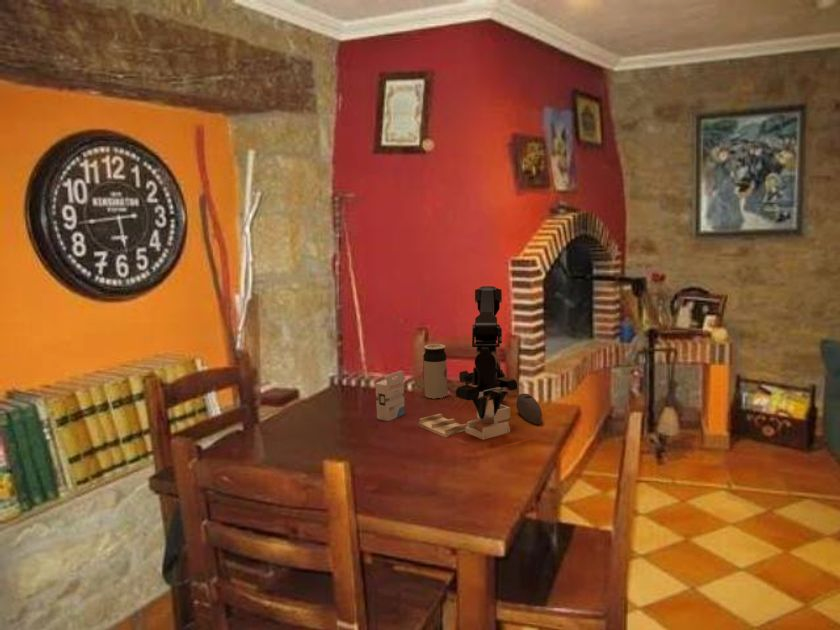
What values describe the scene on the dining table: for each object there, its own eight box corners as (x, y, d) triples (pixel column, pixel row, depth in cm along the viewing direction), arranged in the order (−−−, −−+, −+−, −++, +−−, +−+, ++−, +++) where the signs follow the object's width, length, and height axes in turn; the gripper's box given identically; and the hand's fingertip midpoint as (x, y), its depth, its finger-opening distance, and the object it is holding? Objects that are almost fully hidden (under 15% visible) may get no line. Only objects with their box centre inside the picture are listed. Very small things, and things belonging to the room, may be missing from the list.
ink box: (393, 412, 212) (391, 367, 210) (405, 414, 209) (403, 369, 207) (376, 419, 205) (374, 373, 203) (388, 421, 202) (386, 375, 200)
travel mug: (420, 397, 228) (419, 347, 225) (431, 392, 235) (429, 343, 232) (441, 400, 224) (440, 349, 221) (451, 394, 231) (449, 344, 228)
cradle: (491, 426, 194) (491, 415, 194) (510, 433, 188) (509, 422, 187) (465, 433, 189) (465, 422, 188) (483, 441, 182) (483, 429, 182)
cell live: (488, 419, 190) (487, 394, 189) (497, 422, 187) (497, 397, 186) (477, 422, 188) (477, 396, 187) (486, 425, 185) (486, 399, 184)
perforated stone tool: (547, 427, 192) (547, 405, 191) (530, 429, 191) (530, 406, 190) (531, 413, 207) (531, 391, 206) (515, 414, 206) (515, 392, 205)
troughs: (442, 420, 202) (441, 413, 202) (469, 431, 191) (469, 423, 191) (418, 425, 197) (418, 418, 197) (445, 437, 186) (444, 430, 186)
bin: (494, 414, 206) (494, 402, 205) (510, 420, 200) (510, 407, 200) (477, 419, 202) (476, 406, 201) (492, 424, 196) (492, 411, 196)
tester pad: (488, 428, 191) (488, 421, 191) (499, 432, 187) (499, 425, 187) (476, 431, 189) (475, 424, 188) (486, 436, 185) (486, 428, 184)
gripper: (492, 355, 197) (493, 405, 199) (443, 364, 186) (444, 417, 189) (518, 361, 188) (518, 413, 190) (467, 371, 177) (468, 426, 180)
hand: (487, 417), depth 187 cm, fingers closed on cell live, 4 cm apart
